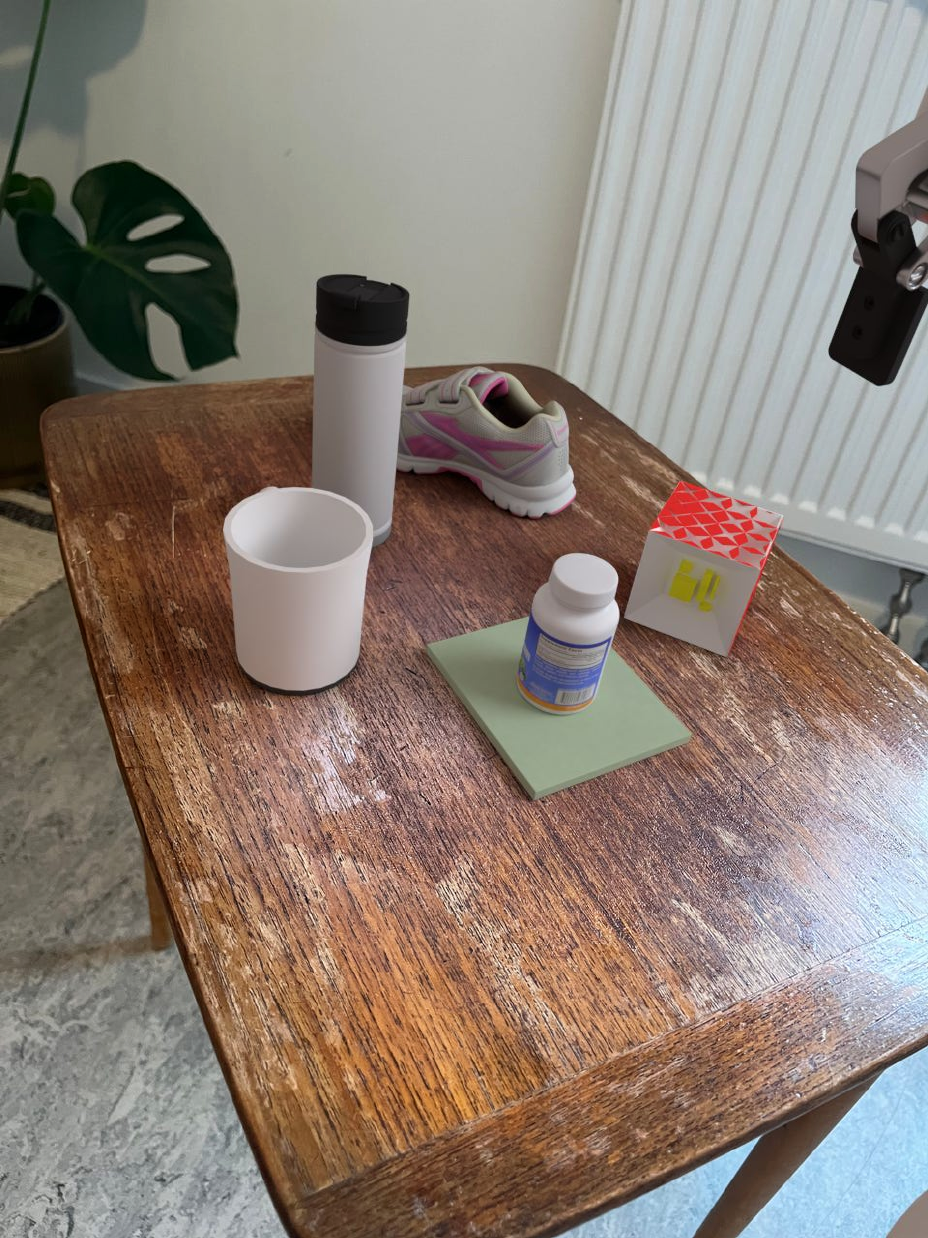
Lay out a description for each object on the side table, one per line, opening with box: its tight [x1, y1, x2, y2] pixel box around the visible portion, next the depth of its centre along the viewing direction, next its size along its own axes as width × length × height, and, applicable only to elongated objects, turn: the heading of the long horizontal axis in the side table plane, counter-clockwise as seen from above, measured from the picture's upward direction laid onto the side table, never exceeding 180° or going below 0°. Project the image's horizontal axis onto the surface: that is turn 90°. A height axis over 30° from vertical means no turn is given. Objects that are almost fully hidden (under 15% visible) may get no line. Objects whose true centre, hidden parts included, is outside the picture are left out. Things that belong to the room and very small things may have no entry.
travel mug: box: [311, 273, 411, 549], centre depth 69 cm, size 6×7×20 cm
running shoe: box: [396, 366, 577, 520], centre depth 82 cm, size 9×22×10 cm, turn 64°
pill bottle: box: [517, 552, 620, 715], centre depth 60 cm, size 5×5×10 cm
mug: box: [222, 486, 373, 696], centre depth 62 cm, size 11×9×10 cm
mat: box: [425, 615, 692, 801], centre depth 64 cm, size 14×12×1 cm
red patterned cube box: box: [623, 480, 785, 658], centre depth 71 cm, size 8×8×8 cm
